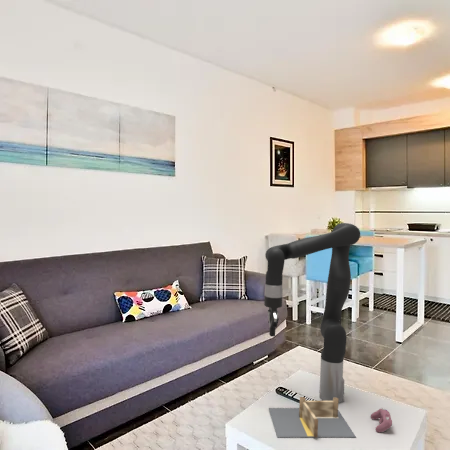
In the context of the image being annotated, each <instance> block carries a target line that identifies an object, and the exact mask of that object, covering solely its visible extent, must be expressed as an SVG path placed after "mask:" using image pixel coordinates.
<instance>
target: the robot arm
mask: <svg viewBox="0 0 450 450" xmlns="http://www.w3.org/2000/svg"><path fill="white" fill-rule="evenodd" d="M360 238H361V231H360V229H359V227H358V226H357V225H355V224H353V223H347V222H342V223H341V222H340V223H338V224H337V225H335V227H334V228H333V230H332V231H330V232H328V233H324V234H321V235H319V234H318V235H314V236H310V237H304V238H301V239H297V240H295V241H291V242H289V243H288V242H287V243H283V244H279V245H274V246H272V247H268V249H266V252H265V255H264V256H265V259H266V261H267V271H266V272H265V273H266V274H265V286H264V299H263V301H264V303H263V305H264V306H265V307H266V308H268V309H267V311H266V312H267V320H268V326H269V334H268V335H269V336H270V337H276V328H278V323H279V319H280V318H279V317H278V316H279V311H278V309H280V308H282V307H283V293H284V291H283V277H284V276H283V272H284V267H285V261H286V260H290V259H291V260H292V259H295V260H296V259H298V258H302V257H305V256H309V255H311V254H314V253H315V254H316V253H318V252H321V251H324V250H329V249H331V255H330V256H331V259H330V263H329V269H328V270H329V271H328V277H327V281H326V283H327V284H326V291H325V292H326V293H325V304H324V310H323V315H322V319H321V324H320V329H319V330H320V334H321V336H322V338H323V346H322V347H323V349H322V350H321V352H320V368H319V369H320V372H319V373H320V375H319V395H318V396H319V399H320V401H333V398H334V397H337V398H338V404H341V403H344V400H345V399H344V398H345V397H344V396H345V379H344V376H343V375H344V358H345V355H346V350H347V332H346V329H345V328H344V326H342V323H341V321H342V311H343V307H344V305H345V303H346V301H347V300H348V299H347V298H348V296H349V294H350V288H351V282H352V278H351V276H352V274H351V273H352V272H351V266H350V259H349V255H350V248H351V246H353V245H355V244H356V243H358V242H359V240H360Z"/></svg>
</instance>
